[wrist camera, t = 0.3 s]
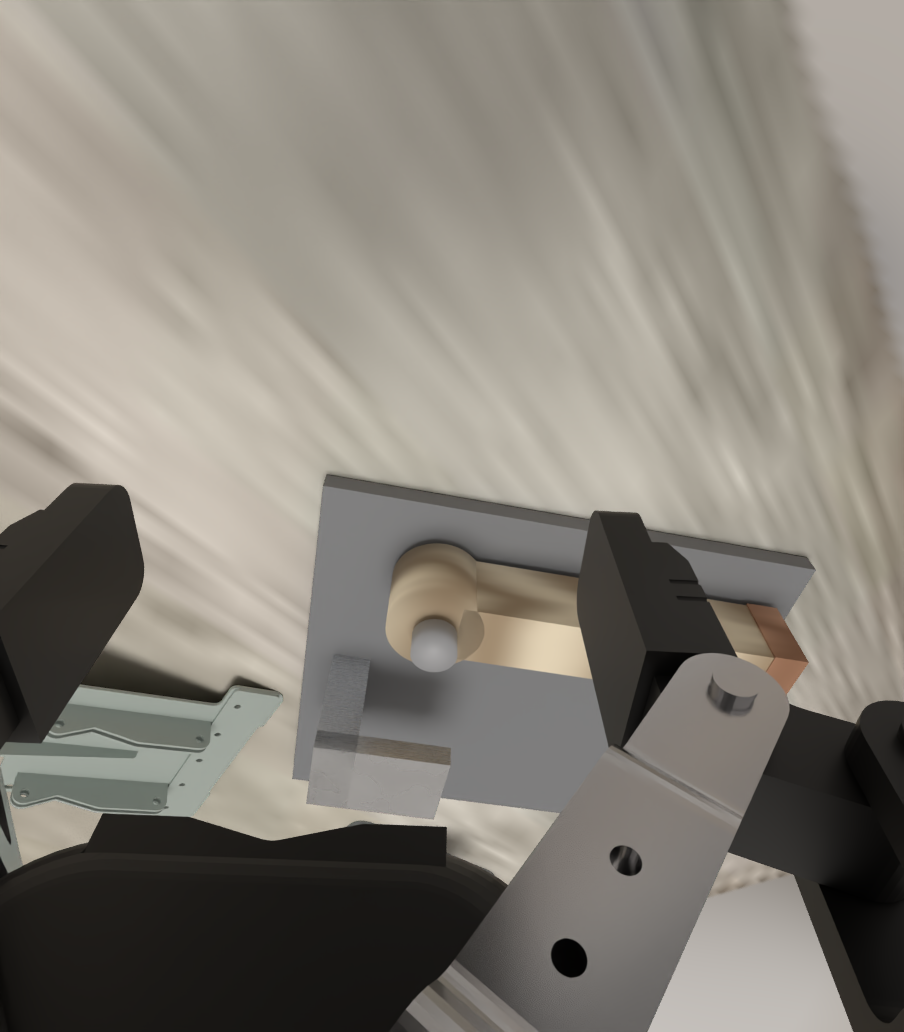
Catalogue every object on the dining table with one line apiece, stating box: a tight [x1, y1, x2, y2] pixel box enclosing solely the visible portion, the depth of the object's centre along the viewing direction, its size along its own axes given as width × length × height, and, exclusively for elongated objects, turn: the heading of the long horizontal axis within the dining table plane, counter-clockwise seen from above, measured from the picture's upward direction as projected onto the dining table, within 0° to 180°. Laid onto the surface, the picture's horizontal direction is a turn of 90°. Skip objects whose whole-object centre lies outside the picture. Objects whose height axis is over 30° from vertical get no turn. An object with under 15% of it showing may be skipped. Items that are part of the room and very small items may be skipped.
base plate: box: [292, 475, 816, 813], centre depth 36 cm, size 22×24×6 cm
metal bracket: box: [0, 684, 283, 817], centre depth 41 cm, size 14×6×15 cm
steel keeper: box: [306, 654, 451, 820], centre depth 35 cm, size 4×6×6 cm
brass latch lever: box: [385, 543, 809, 695], centre depth 32 cm, size 19×4×4 cm, turn 79°
